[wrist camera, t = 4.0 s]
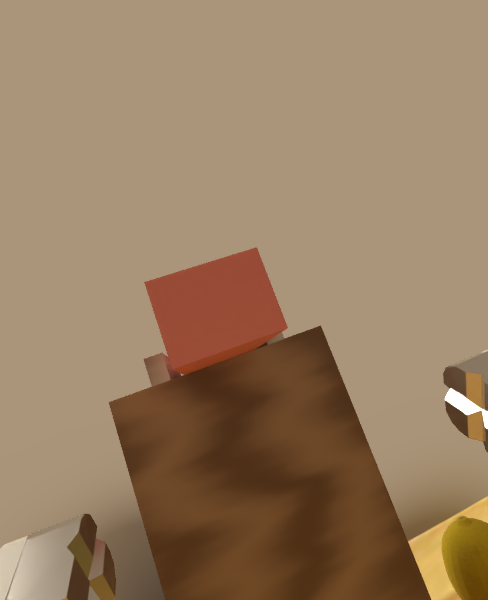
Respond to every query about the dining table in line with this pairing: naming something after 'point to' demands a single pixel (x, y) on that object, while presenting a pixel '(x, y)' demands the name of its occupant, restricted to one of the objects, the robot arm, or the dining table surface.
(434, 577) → the dining table surface
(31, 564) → the robot arm
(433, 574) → the dining table surface
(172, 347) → the salmon red bar
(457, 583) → the lemon
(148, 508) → the wooden knife block
